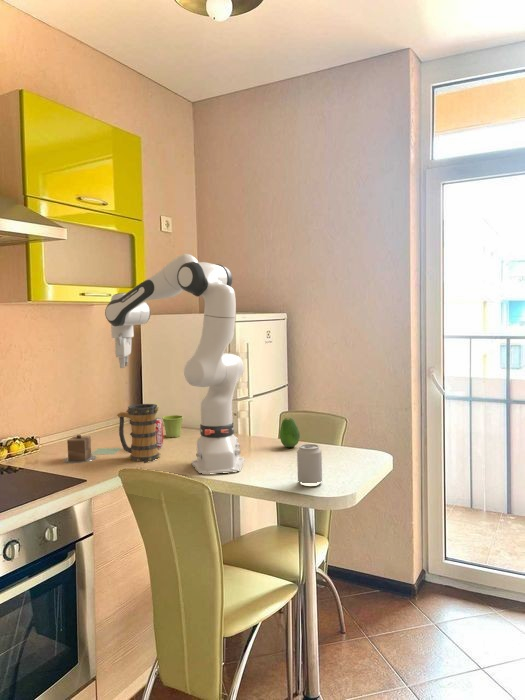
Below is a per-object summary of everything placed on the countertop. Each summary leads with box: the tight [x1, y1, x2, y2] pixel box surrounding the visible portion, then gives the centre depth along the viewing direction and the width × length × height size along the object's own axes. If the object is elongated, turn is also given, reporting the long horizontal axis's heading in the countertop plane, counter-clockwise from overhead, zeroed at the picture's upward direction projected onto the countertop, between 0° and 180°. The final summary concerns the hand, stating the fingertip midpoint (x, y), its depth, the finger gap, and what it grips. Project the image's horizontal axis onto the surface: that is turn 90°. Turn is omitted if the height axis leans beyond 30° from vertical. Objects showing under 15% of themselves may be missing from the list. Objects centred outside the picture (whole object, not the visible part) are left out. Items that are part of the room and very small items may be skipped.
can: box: [296, 443, 323, 483], centre depth 170 cm, size 8×8×12 cm
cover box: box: [66, 434, 92, 461], centre depth 210 cm, size 6×6×9 cm
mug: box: [116, 403, 161, 463], centre depth 209 cm, size 13×17×20 cm
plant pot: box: [162, 414, 184, 438], centre depth 248 cm, size 9×9×9 cm
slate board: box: [63, 455, 97, 464], centre depth 210 cm, size 12×12×1 cm
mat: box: [91, 447, 123, 456], centre depth 221 cm, size 10×10×1 cm
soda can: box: [155, 417, 164, 450], centre depth 225 cm, size 7×7×12 cm
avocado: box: [279, 417, 301, 448], centre depth 219 cm, size 8×8×12 cm
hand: (124, 367), depth 227 cm, fingers open, 8 cm apart
